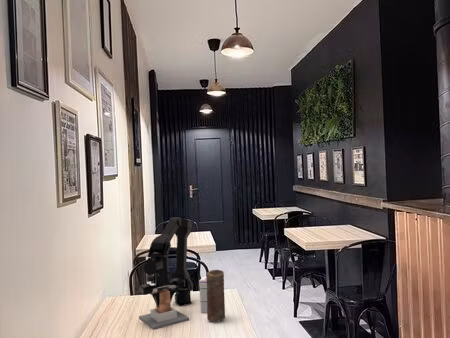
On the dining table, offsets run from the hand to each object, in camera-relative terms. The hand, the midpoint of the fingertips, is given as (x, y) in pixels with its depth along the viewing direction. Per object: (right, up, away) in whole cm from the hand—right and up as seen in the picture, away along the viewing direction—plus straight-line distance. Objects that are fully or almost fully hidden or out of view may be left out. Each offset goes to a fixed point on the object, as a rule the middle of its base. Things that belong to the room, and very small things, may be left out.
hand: (163, 306), depth 174 cm
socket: (0, -6, 0) cm, 6 cm away
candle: (+23, -5, -4) cm, 23 cm away
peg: (0, -3, 0) cm, 2 cm away
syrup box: (+19, -5, +8) cm, 21 cm away
